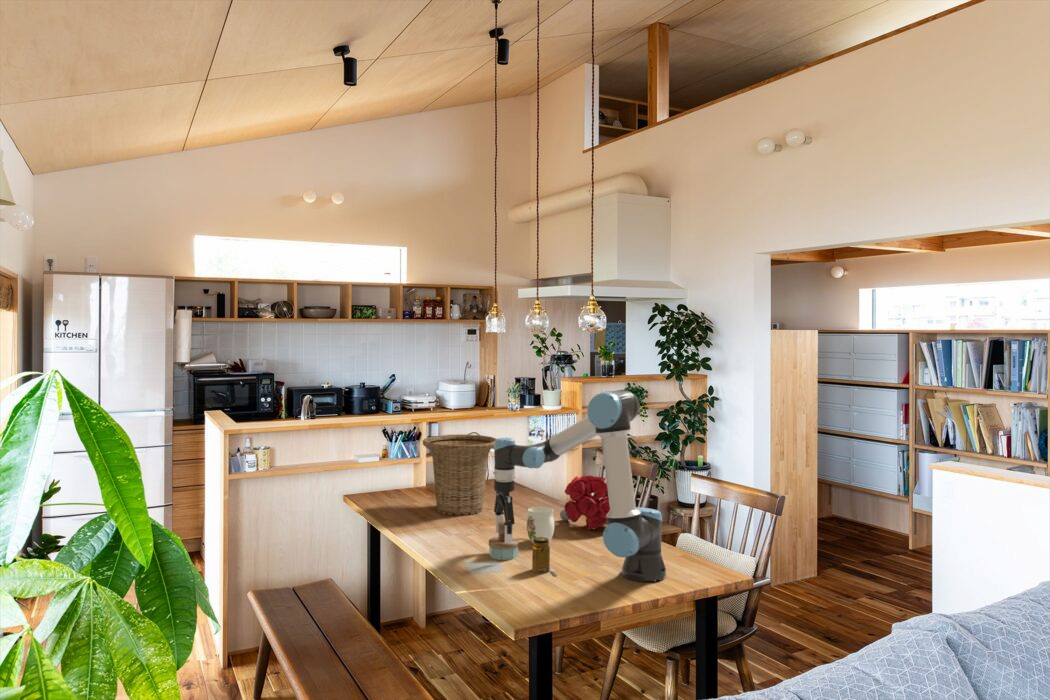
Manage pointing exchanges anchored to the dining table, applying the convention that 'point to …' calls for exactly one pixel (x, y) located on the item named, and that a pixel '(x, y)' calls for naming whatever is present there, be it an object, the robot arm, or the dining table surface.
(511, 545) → the lid
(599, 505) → the bouquet
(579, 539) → the dining table surface
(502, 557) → the bowl
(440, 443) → the wicker basket
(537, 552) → the condiment
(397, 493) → the dining table surface
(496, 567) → the mat
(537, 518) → the pitcher
